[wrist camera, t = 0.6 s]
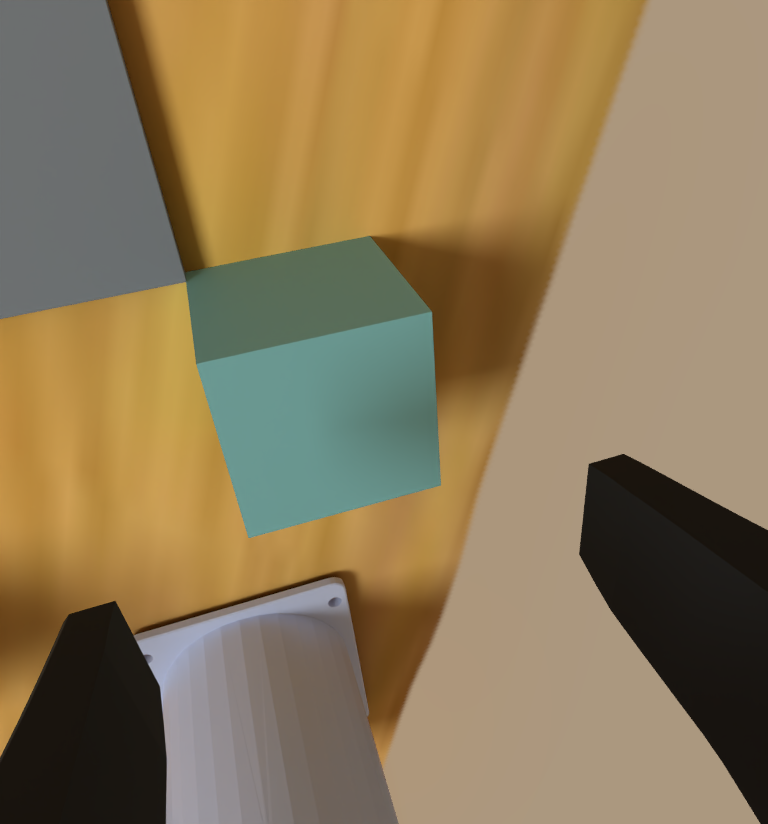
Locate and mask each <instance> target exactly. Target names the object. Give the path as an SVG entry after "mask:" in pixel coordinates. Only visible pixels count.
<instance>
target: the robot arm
mask: <svg viewBox="0 0 768 824" xmlns="http://www.w3.org/2000/svg"><path fill="white" fill-rule="evenodd" d="M579 555H580V556H581V558H582V560H583V562H584V564H585V566H586V567H587V569H588V571H589V573H590V575H591V577H592V578H593V580H594V582H595V584H596V586H597V587H598V589H599V591H600V592H601V594H602V596H603V597H604V599H605V601H606V603H607V604H608V606H609V608H610V609H611V611H612V612H613V614H614V615H615V617H616V618H617V619H618V620H619V622H620V623H621V625H622V626H623V628H624V629H625V630H626V631H627V633H628V634H629V636H630V637H631V638H632V640H633V641H634V642H635V644H636V645H637V647H638V648H639V649H640V651H641V652H642V653H643V655H644V656H645V657H646V659H647V660H648V661H649V663H650V664H651V665H652V667H653V668H654V669H655V671H656V672H657V673H658V675H659V676H660V677H661V679H662V680H663V681H664V682H665V684H666V685H667V687H668V688H669V689H670V691H671V692H672V693H673V695H674V696H675V697H676V698H677V700H678V701H679V703H680V704H681V705H682V707H683V708H684V709H685V711H686V712H687V713H688V715H689V716H690V717H691V719H692V720H693V721H694V723H695V724H696V725H697V727H698V728H699V729H700V731H701V732H702V733H703V735H704V736H705V738H706V739H707V741H708V742H709V743H710V745H711V746H712V748H713V749H714V751H715V752H716V754H717V755H718V756H719V758H720V759H721V761H722V762H723V764H724V765H725V767H726V768H727V770H728V772H729V773H730V775H731V777H732V778H733V779H734V781H735V783H736V785H737V786H738V788H739V790H740V791H741V793H742V794H743V796H744V798H745V799H746V801H747V803H748V804H749V806H750V807H751V809H752V810H753V812H754V814H755V815H756V817H757V819H758V820H759V822H760V823H761V824H768V530H766V529H764V528H762V527H761V526H758V525H757V524H755V523H752V522H751V521H749V520H747V519H745V518H743V517H741V516H739V515H737V514H736V513H733V512H732V511H730V510H728V509H726V508H724V507H722V506H720V505H719V504H717V503H715V502H713V501H711V500H709V499H707V498H705V497H704V496H702V495H700V494H698V493H696V492H694V491H692V490H691V489H689V488H687V487H685V486H683V485H682V484H680V483H678V482H676V481H674V480H672V479H670V478H668V477H667V476H665V475H663V474H661V473H659V472H658V471H656V470H654V469H652V468H650V467H648V466H646V465H644V464H642V463H641V462H639V461H637V460H634V459H633V458H631V457H629V456H627V455H625V454H622V455H618V456H615V457H611V458H608V459H604V460H601V461H598V462H594V463H591V464H589V468H588V476H587V486H586V495H585V505H584V514H583V525H582V533H581V542H580V552H579ZM332 598H334V599H332ZM146 654H148V655H146ZM368 715H369V709H368V703H367V698H366V693H365V688H364V682H363V677H362V672H361V667H360V661H359V656H358V651H357V646H356V640H355V635H354V630H353V624H352V619H351V614H350V609H349V603H348V598H347V593H346V588H345V585H344V582H343V580H342V579H340V578H337V577H331V578H327V579H323V580H320V581H316V582H313V583H310V584H306V585H303V586H299V587H296V588H292V589H289V590H286V591H282V592H279V593H275V594H272V595H269V596H265V597H262V598H258V599H255V600H252V601H248V602H245V603H241V604H238V605H235V606H231V607H228V608H224V609H221V610H217V611H214V612H211V613H207V614H204V615H200V616H197V617H194V618H190V619H187V620H183V621H180V622H177V623H173V624H170V625H166V626H163V627H159V628H156V629H153V630H149V631H146V632H142V633H139V634H136V635H134V636H133V634H132V632H131V630H130V628H129V626H128V624H127V622H126V620H125V618H124V617H123V615H122V613H121V611H120V609H119V607H118V605H117V603H116V601H113V602H110V603H106V604H103V605H99V606H96V607H93V608H89V609H86V610H82V611H79V612H75V613H72V614H69V615H68V617H67V618H66V620H65V621H64V622H63V625H62V627H61V629H60V631H59V634H58V636H57V638H56V640H55V643H54V645H53V647H52V649H51V652H50V654H49V656H48V658H47V661H46V663H45V665H44V667H43V669H42V672H41V674H40V676H39V678H38V680H37V683H36V685H35V687H34V689H33V691H32V693H31V695H30V698H29V700H28V702H27V704H26V706H25V708H24V710H23V712H22V715H21V717H20V719H19V721H18V723H17V725H16V727H15V729H14V731H13V733H12V735H11V737H10V739H9V741H8V743H7V745H6V747H5V749H4V751H3V753H2V755H1V757H0V824H398V820H397V817H396V814H395V810H394V807H393V803H392V800H391V797H390V793H389V790H388V786H387V783H386V779H385V776H384V772H383V769H382V766H381V762H380V759H379V755H378V752H377V749H376V745H375V742H374V738H373V735H372V732H371V728H370V725H369V721H368V718H367V716H368Z"/></svg>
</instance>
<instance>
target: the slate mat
mask: <svg viewBox="0 0 768 824" xmlns="http://www.w3.org/2000/svg"><path fill="white" fill-rule="evenodd" d="M183 282H186V276H185V271H184V267H183V264H182V260H181V257H180V253H179V250H178V246H177V243H176V239H175V236H174V232H173V229H172V225H171V222H170V218H169V215H168V211H167V208H166V204H165V201H164V197H163V194H162V190H161V187H160V183H159V180H158V176H157V173H156V169H155V166H154V162H153V159H152V155H151V152H150V148H149V145H148V141H147V138H146V134H145V131H144V127H143V124H142V120H141V117H140V113H139V110H138V106H137V103H136V99H135V96H134V92H133V89H132V85H131V82H130V78H129V75H128V71H127V68H126V64H125V61H124V57H123V54H122V50H121V47H120V43H119V40H118V36H117V33H116V29H115V26H114V22H113V19H112V15H111V12H110V8H109V5H108V1H107V0H0V319H2V318H7V317H12V316H17V315H22V314H27V313H32V312H37V311H42V310H47V309H52V308H57V307H62V306H67V305H72V304H77V303H82V302H87V301H92V300H97V299H102V298H108V297H113V296H118V295H123V294H128V293H133V292H138V291H143V290H148V289H153V288H158V287H163V286H168V285H173V284H178V283H183Z"/></svg>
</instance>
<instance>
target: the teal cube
mask: <svg viewBox="0 0 768 824" xmlns="http://www.w3.org/2000/svg"><path fill="white" fill-rule="evenodd" d="M185 276H186V284H187V292H188V300H189V309H190V317H191V325H192V333H193V341H194V349H195V357H196V365H197V368H198V371H199V375H200V378H201V381H202V385H203V388H204V391H205V395H206V398H207V401H208V404H209V408H210V411H211V414H212V418H213V421H214V424H215V428H216V431H217V434H218V438H219V441H220V444H221V448H222V451H223V454H224V458H225V461H226V464H227V468H228V471H229V474H230V478H231V481H232V484H233V488H234V491H235V494H236V498H237V501H238V504H239V508H240V511H241V514H242V518H243V521H244V524H245V528H246V531H247V534H248V538H251V537H254V536H258V535H262V534H265V533H269V532H273V531H276V530H280V529H284V528H287V527H291V526H295V525H298V524H302V523H306V522H309V521H313V520H316V519H320V518H324V517H327V516H331V515H335V514H338V513H342V512H346V511H349V510H353V509H357V508H360V507H364V506H367V505H371V504H375V503H378V502H382V501H386V500H389V499H393V498H397V497H400V496H404V495H408V494H411V493H415V492H418V491H422V490H426V489H429V488H433V487H437V486H440V485H441V479H440V459H439V440H438V420H437V401H436V382H435V362H434V343H433V323H432V311H431V310H430V309H429V307H428V306H427V305H426V304H425V303H424V301H423V300H422V299H421V298H420V297H419V295H418V294H417V293H416V292H415V290H414V289H413V288H412V287H411V286H410V284H409V283H408V282H407V281H406V279H405V278H404V277H403V276H402V275H401V273H400V272H399V271H398V270H397V268H396V267H395V266H394V265H393V264H392V262H391V261H390V260H389V259H388V258H387V256H386V255H385V254H384V253H383V251H382V250H381V249H380V248H379V247H378V245H377V244H376V243H375V242H374V240H373V239H372V238H371V237H370V236H367V237H362V238H357V239H352V240H347V241H342V242H337V243H332V244H327V245H322V246H316V247H311V248H306V249H301V250H296V251H291V252H286V253H281V254H276V255H271V256H266V257H260V258H255V259H250V260H245V261H240V262H235V263H230V264H225V265H220V266H215V267H210V268H204V269H199V270H194V271H189V272H185Z"/></svg>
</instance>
